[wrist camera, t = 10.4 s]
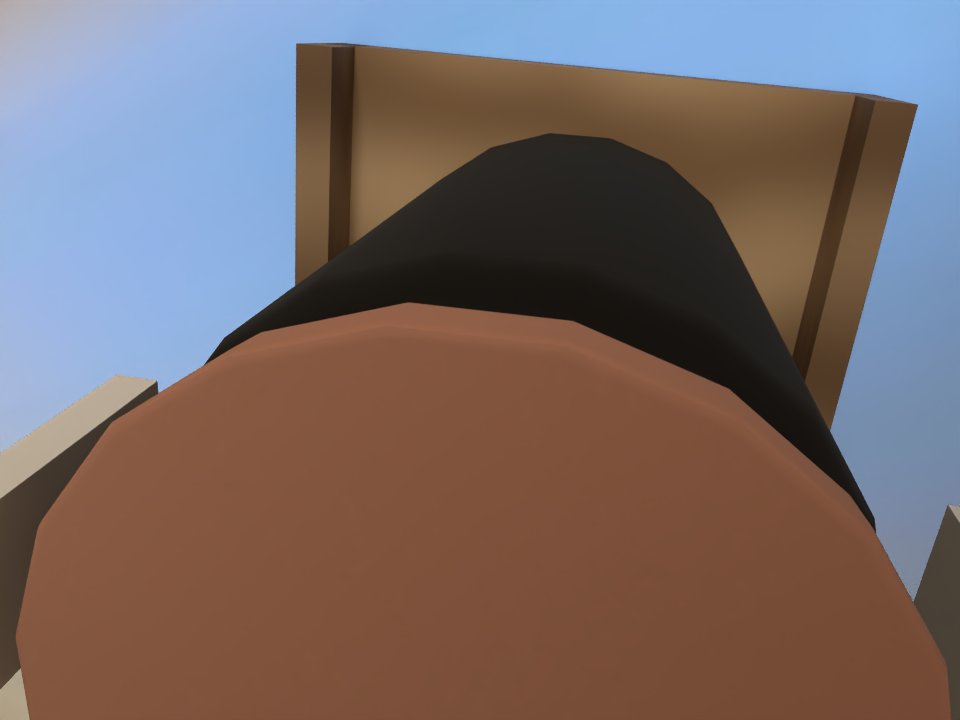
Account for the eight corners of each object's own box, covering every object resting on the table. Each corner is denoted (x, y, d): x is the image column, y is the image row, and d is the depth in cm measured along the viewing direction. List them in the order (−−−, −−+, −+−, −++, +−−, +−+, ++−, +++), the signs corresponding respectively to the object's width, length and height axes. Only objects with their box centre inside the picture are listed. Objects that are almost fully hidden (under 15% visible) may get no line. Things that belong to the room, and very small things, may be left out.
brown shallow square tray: (343, 42, 26) (296, 43, 23) (874, 94, 24) (917, 105, 21) (333, 463, 32) (294, 519, 28) (764, 533, 30) (783, 603, 26)
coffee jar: (475, 496, 29) (268, 1109, 12) (341, 208, 26) (-165, 504, 9) (788, 402, 26) (1070, 1049, 9) (674, 66, 23) (789, 133, 6)
